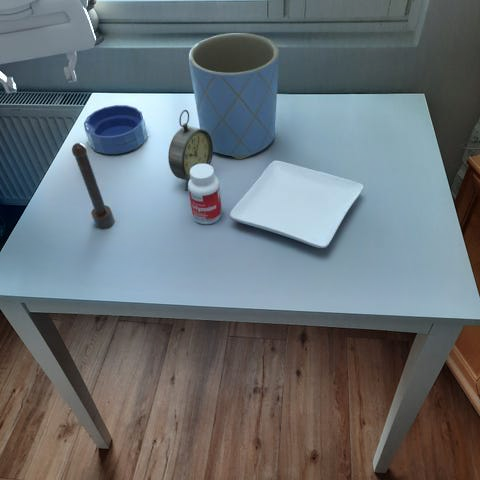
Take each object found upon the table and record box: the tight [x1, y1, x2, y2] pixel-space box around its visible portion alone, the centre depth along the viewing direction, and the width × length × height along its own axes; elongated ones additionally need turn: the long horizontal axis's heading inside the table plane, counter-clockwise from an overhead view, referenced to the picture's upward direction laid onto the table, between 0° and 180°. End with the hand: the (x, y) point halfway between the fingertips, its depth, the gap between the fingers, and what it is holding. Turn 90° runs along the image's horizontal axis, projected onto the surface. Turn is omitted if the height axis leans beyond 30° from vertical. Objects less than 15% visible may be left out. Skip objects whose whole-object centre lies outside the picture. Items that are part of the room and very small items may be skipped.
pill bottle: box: [188, 164, 223, 225], centre depth 94 cm, size 6×6×11 cm
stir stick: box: [71, 142, 116, 230], centre depth 91 cm, size 4×4×18 cm
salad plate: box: [229, 160, 364, 249], centre depth 96 cm, size 21×21×3 cm
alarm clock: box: [167, 109, 214, 192], centre depth 99 cm, size 11×5×16 cm, turn 148°
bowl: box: [83, 104, 148, 155], centre depth 115 cm, size 14×14×5 cm
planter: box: [188, 32, 280, 160], centre depth 107 cm, size 19×19×20 cm
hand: (42, 85), depth 75 cm, fingers open, 8 cm apart
